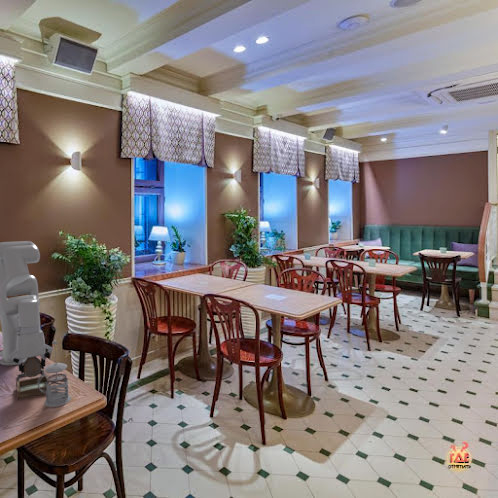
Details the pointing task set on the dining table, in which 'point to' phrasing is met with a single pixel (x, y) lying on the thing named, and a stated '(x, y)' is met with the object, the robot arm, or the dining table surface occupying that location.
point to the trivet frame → (25, 375)
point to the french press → (54, 396)
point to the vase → (32, 367)
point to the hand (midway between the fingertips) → (32, 370)
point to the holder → (31, 387)
